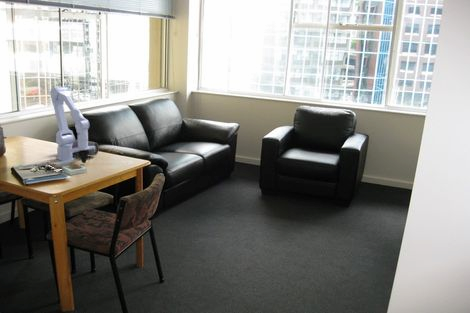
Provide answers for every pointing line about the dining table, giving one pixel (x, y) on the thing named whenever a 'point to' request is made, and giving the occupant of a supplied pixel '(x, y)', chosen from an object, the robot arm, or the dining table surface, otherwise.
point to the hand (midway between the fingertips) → (83, 162)
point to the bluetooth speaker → (91, 152)
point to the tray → (72, 171)
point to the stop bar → (53, 165)
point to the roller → (75, 165)
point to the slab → (64, 163)
